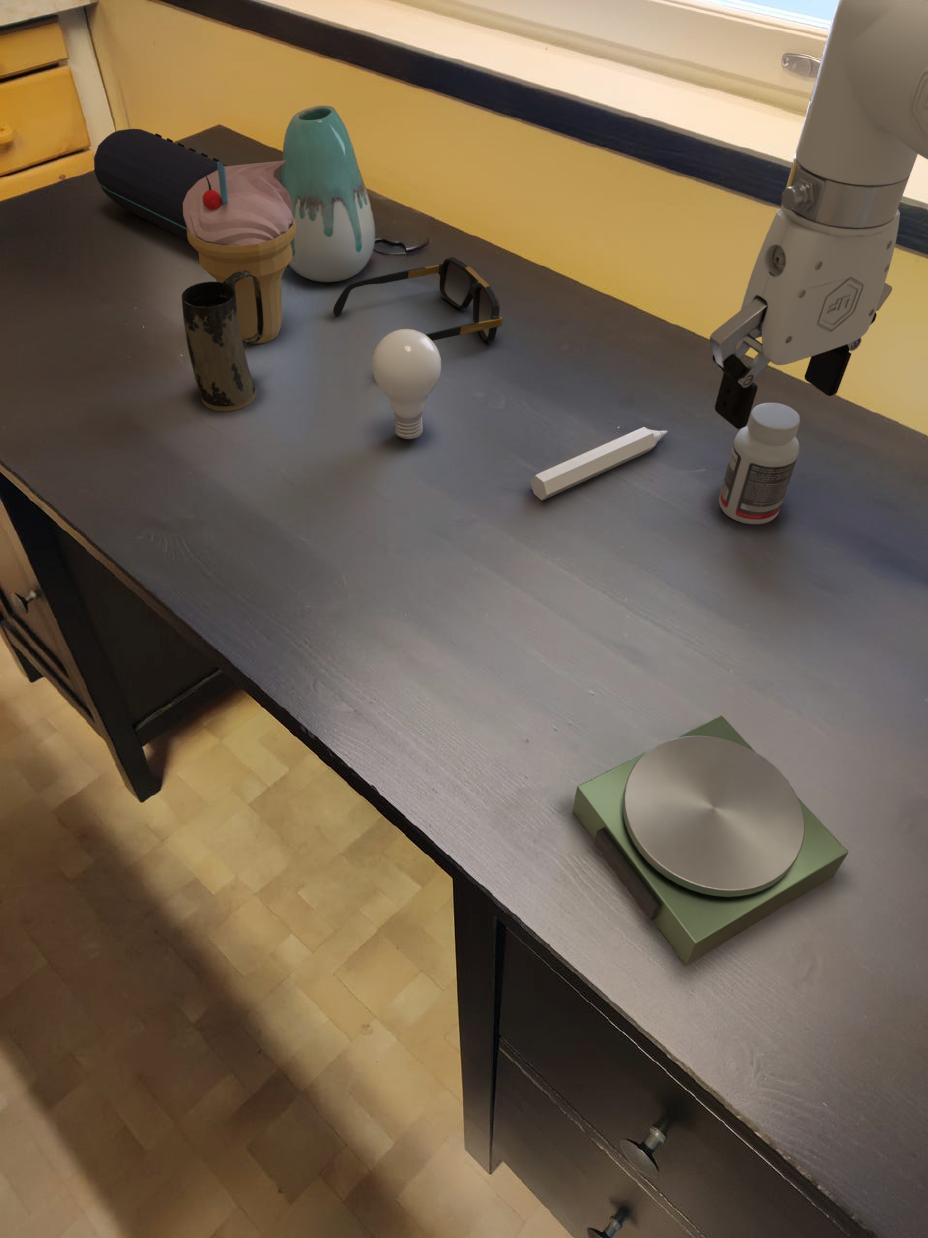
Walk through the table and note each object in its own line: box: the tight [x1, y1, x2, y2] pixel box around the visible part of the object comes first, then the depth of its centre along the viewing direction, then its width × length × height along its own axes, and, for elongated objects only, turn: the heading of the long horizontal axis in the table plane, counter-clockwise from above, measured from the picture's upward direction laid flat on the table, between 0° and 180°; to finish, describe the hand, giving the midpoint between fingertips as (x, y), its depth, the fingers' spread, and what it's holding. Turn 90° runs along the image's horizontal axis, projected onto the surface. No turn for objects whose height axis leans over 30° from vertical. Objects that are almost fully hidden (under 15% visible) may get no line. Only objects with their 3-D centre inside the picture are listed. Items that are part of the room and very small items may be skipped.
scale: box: [572, 714, 849, 966], centre depth 59 cm, size 12×12×3 cm
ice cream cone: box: [183, 160, 296, 345], centre depth 96 cm, size 11×11×20 cm
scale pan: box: [623, 736, 805, 897], centre depth 58 cm, size 11×11×1 cm
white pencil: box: [529, 426, 669, 501], centre depth 87 cm, size 3×2×16 cm
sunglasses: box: [332, 256, 504, 342], centre depth 102 cm, size 14×15×5 cm
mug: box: [181, 270, 264, 412], centre depth 91 cm, size 8×6×12 cm
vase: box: [279, 105, 376, 283], centre depth 107 cm, size 12×12×18 cm
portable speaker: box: [93, 128, 228, 241], centre depth 117 cm, size 25×10×10 cm, turn 49°
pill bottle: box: [718, 402, 801, 525], centre depth 80 cm, size 5×5×10 cm
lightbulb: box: [371, 328, 442, 440], centre depth 86 cm, size 6×6×11 cm
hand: (775, 402), depth 76 cm, fingers open, 9 cm apart
